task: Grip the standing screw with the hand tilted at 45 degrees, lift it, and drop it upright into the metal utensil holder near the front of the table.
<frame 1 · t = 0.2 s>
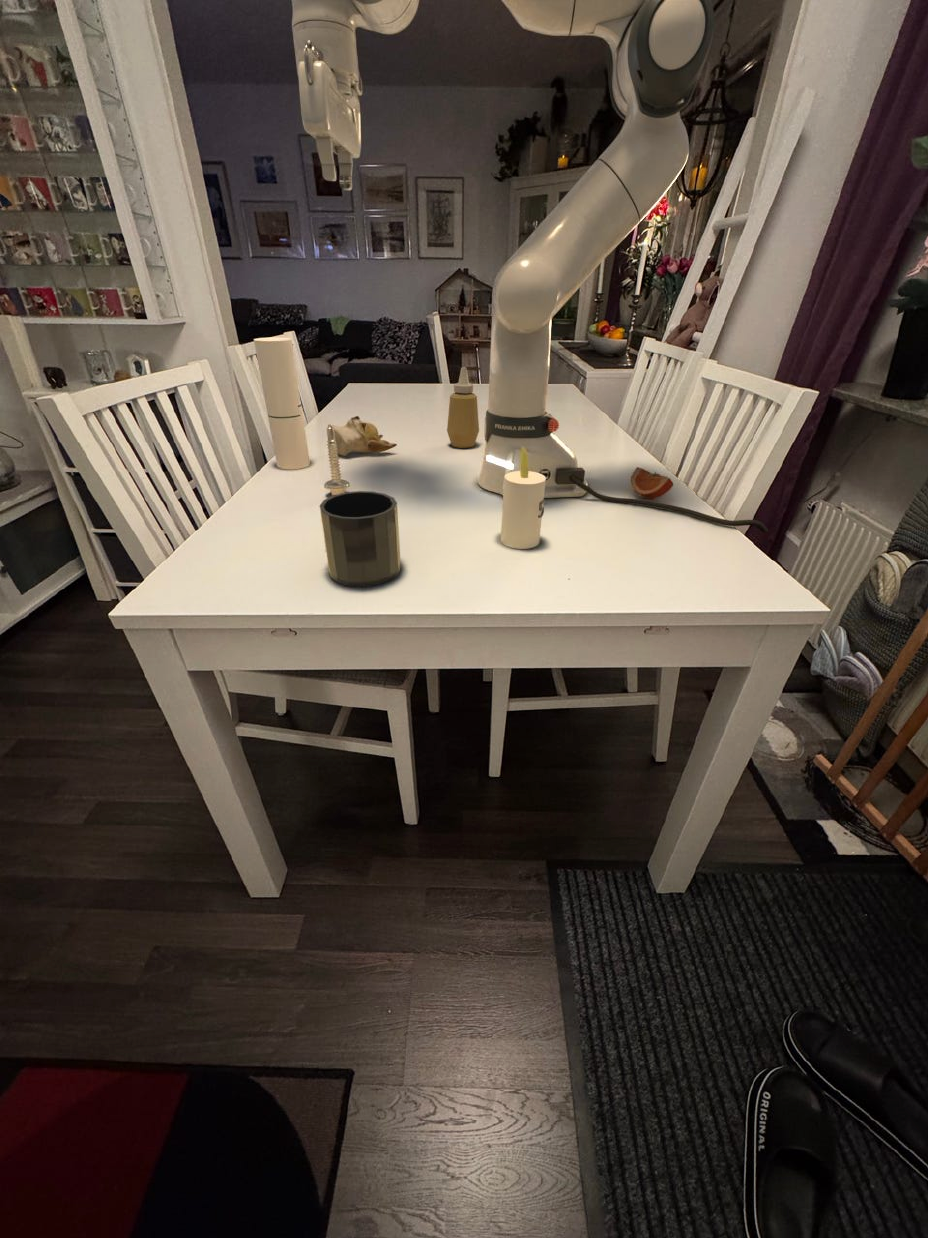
hand: (338, 185, 83), 48 cm above the table, tool pointing down, fingers open, 8 cm apart
squeeze bottle: (462, 446, 132), on the table
cylindrical container: (293, 465, 117), on the table
screw: (338, 495, 101), on the table
ceramic sculpture: (361, 453, 126), on the table
candle: (520, 541, 85), on the table
holder: (365, 569, 76), on the table
fruit slice: (648, 497, 103), on the table
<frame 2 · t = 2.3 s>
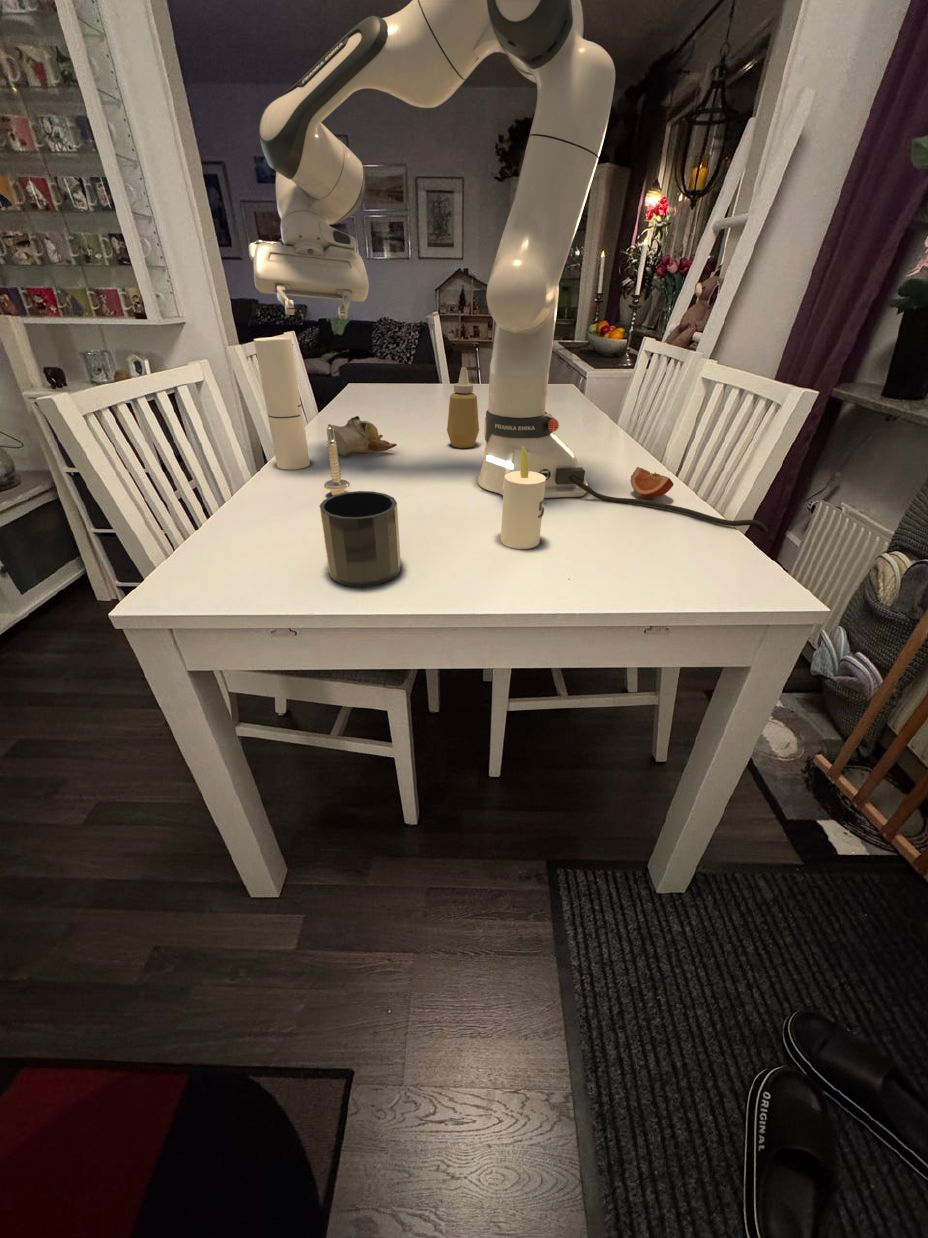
hand: (317, 314, 94), 30 cm above the table, tool tilted 40°, fingers open, 8 cm apart
nothing on the table moved.
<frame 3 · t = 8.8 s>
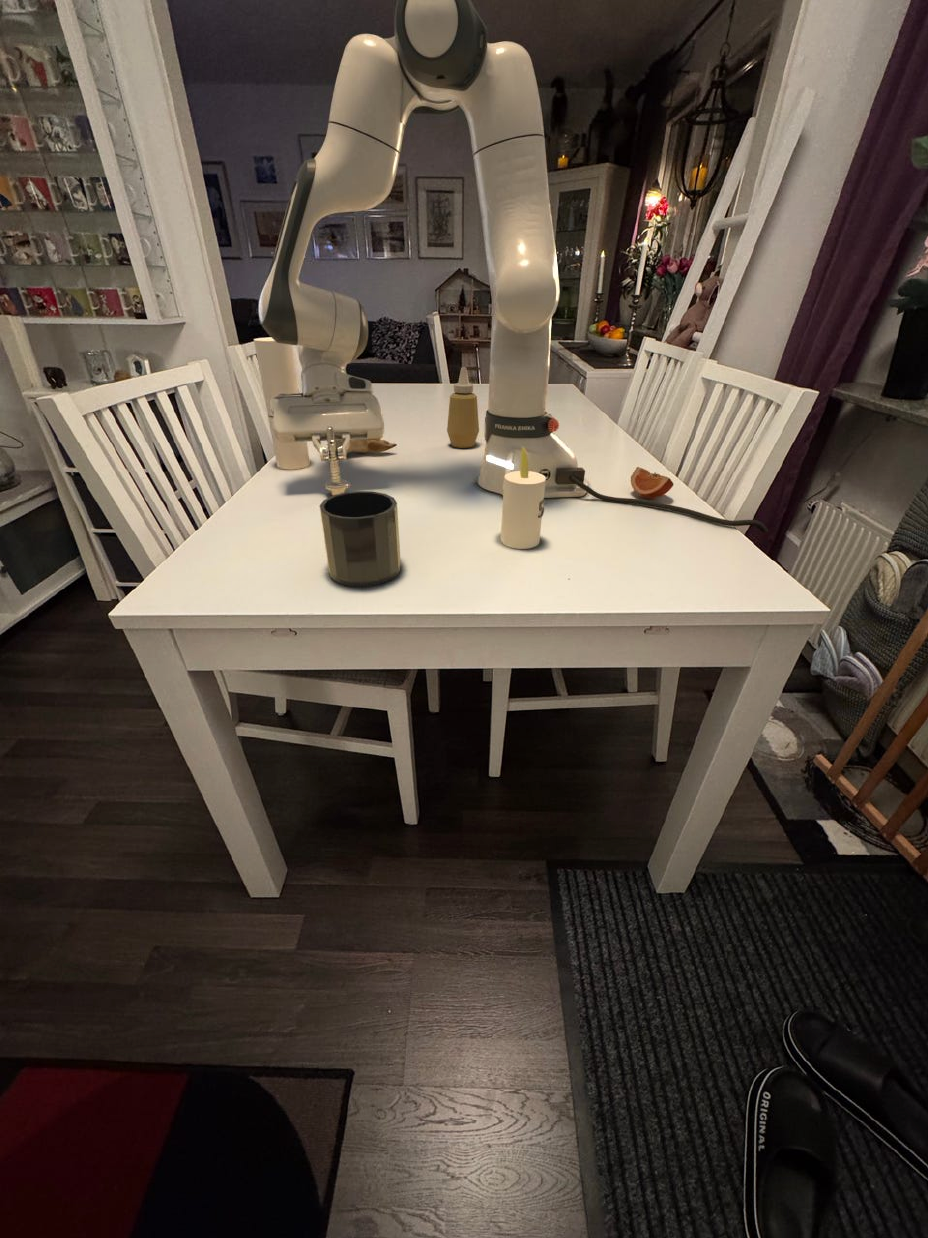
hand: (333, 458, 97), 7 cm above the table, tool tilted 45°, fingers closed on screw, 2 cm apart
screw: (338, 495, 101), on the table, touching gripper
everything else where it was.
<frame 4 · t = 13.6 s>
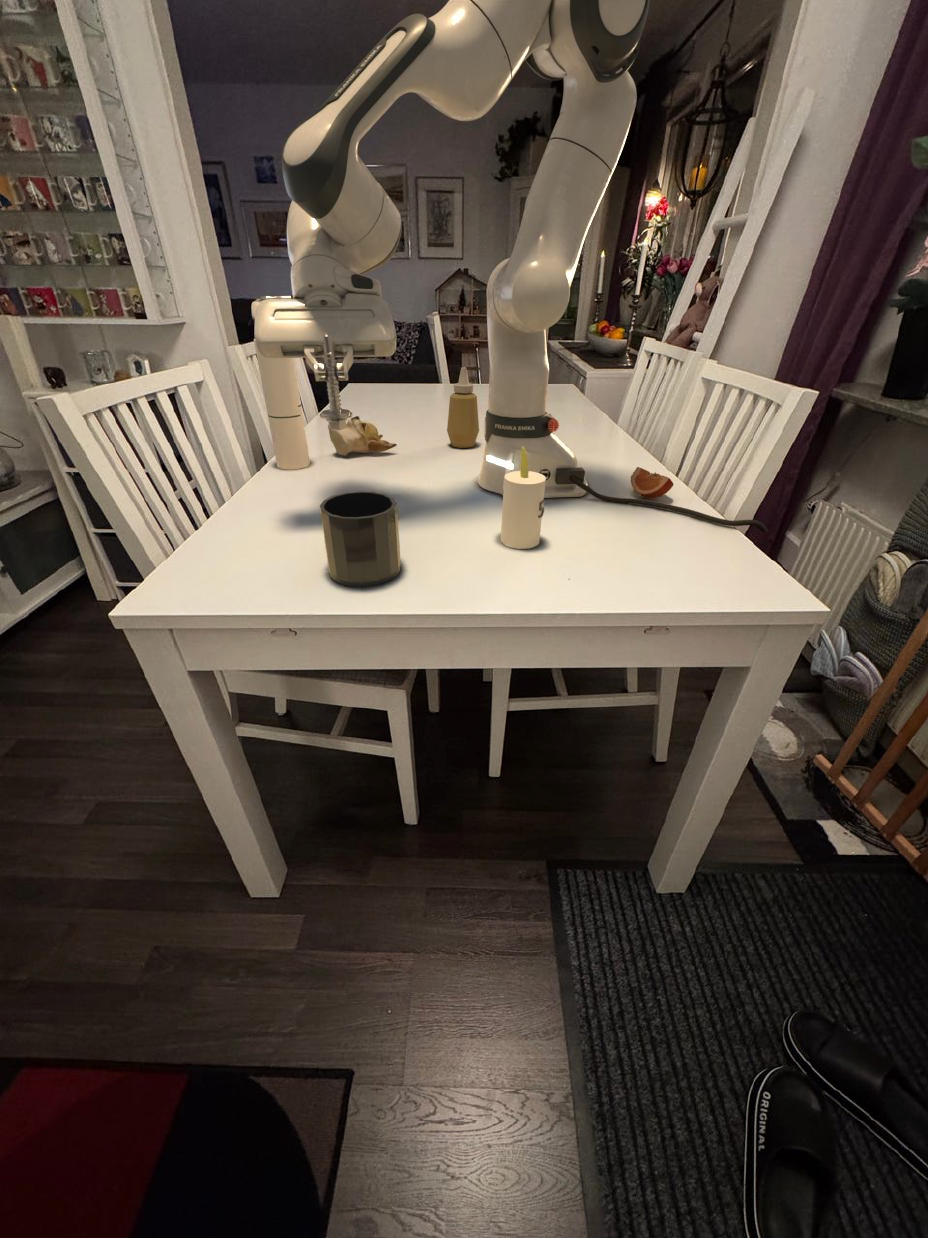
hand: (332, 378, 76), 23 cm above the table, tool tilted 45°, fingers closed on screw
screw: (338, 429, 80), point 16 cm above the table, touching gripper
everything else where it was.
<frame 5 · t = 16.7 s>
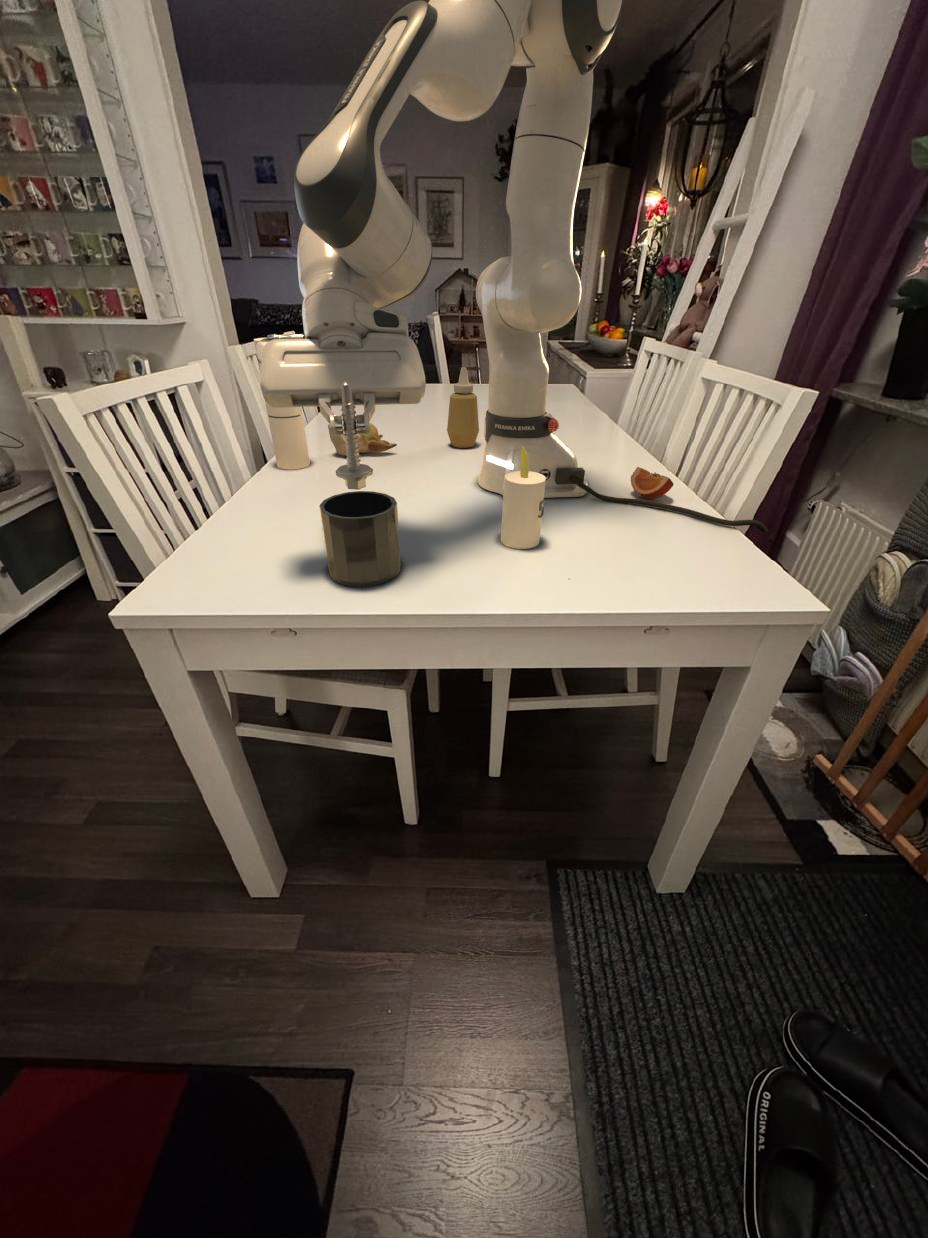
hand: (350, 432, 65), 20 cm above the table, tool tilted 45°, fingers closed on screw
screw: (356, 487, 69), point 12 cm above the table, touching gripper
everything else where it was.
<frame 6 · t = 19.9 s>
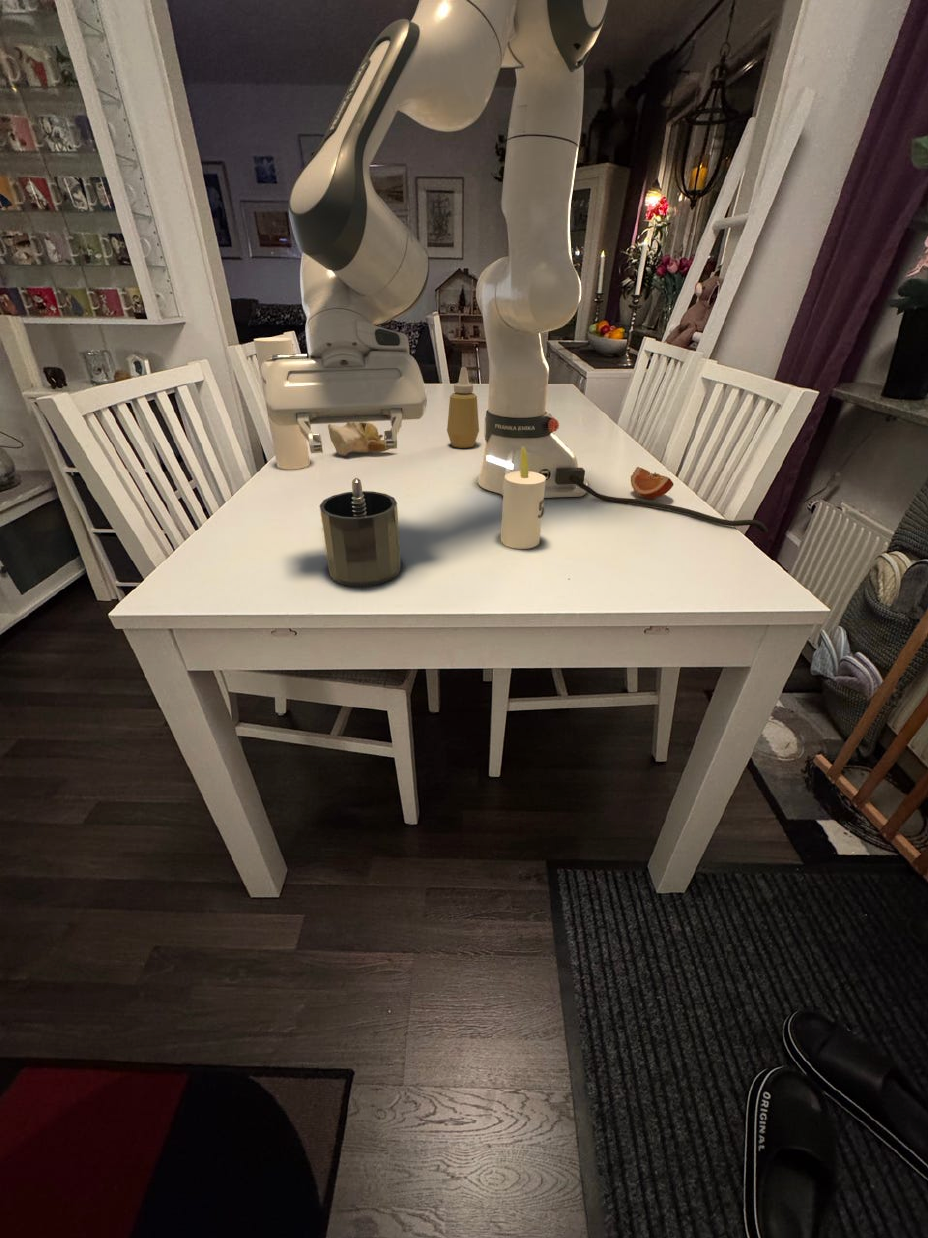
hand: (354, 448, 66), 17 cm above the table, tool tilted 45°, fingers open, 8 cm apart
screw: (365, 566, 76), resting in holder
everything else where it was.
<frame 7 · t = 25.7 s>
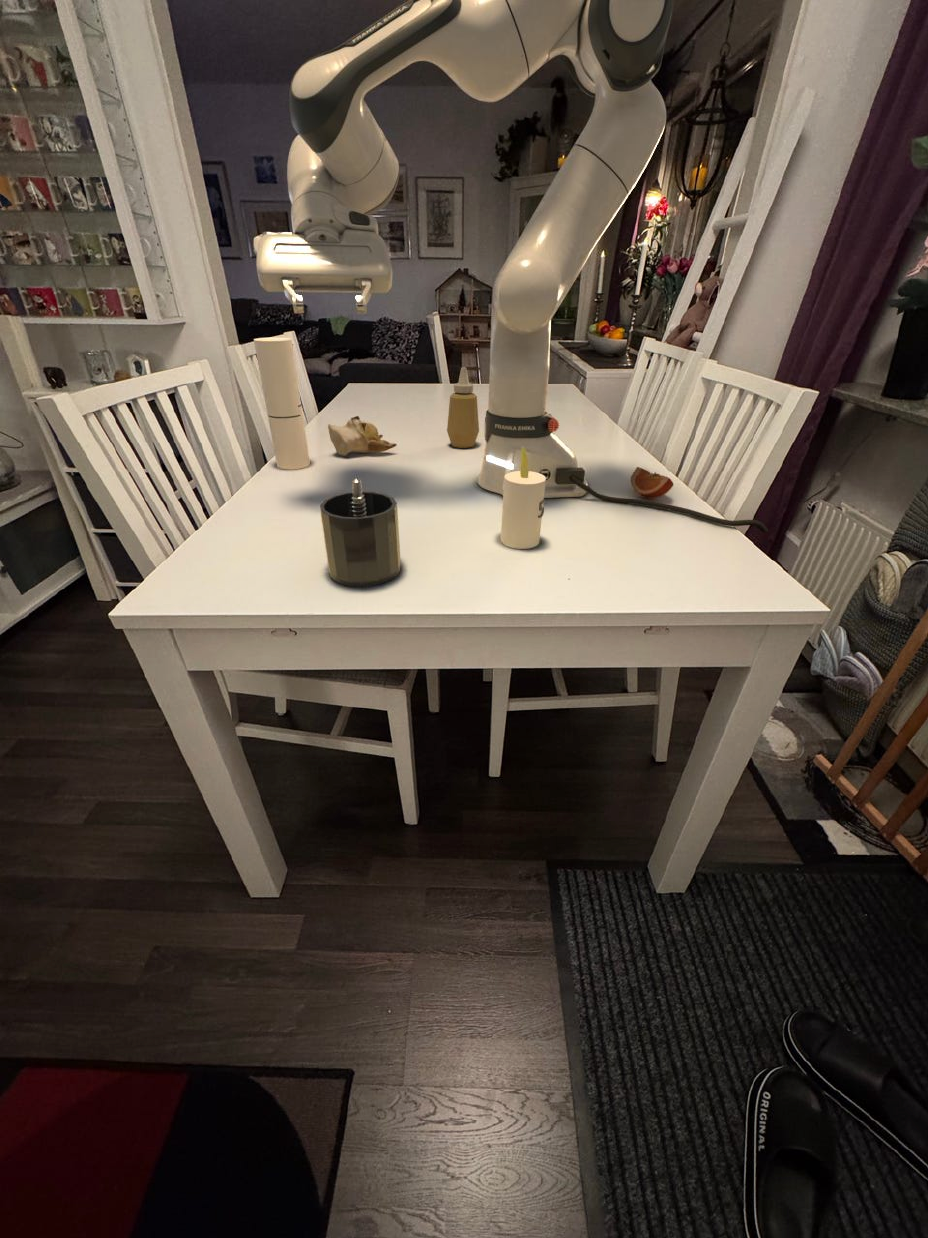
hand: (330, 310, 79), 31 cm above the table, tool tilted 45°, fingers open, 8 cm apart
nothing on the table moved.
at the end: screw inside the target area in the holder (0.1 cm from its centre), point 0.4 cm above the holder's base; the gripper is holding nothing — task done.
